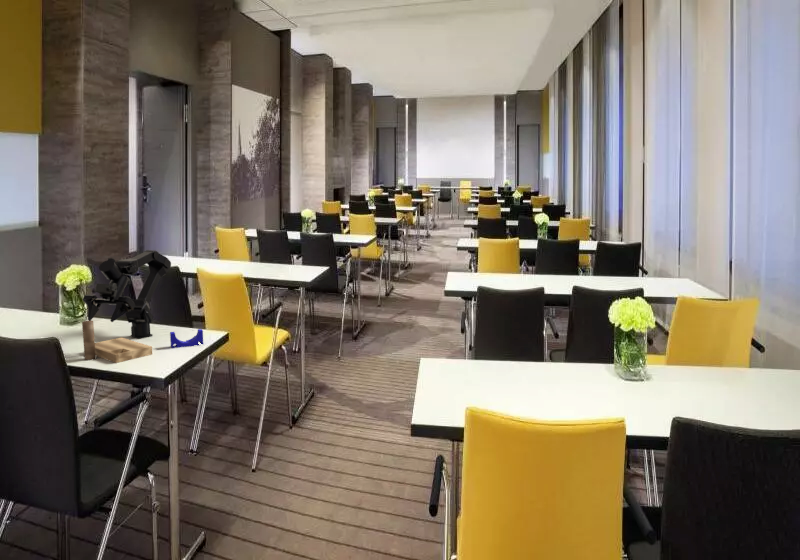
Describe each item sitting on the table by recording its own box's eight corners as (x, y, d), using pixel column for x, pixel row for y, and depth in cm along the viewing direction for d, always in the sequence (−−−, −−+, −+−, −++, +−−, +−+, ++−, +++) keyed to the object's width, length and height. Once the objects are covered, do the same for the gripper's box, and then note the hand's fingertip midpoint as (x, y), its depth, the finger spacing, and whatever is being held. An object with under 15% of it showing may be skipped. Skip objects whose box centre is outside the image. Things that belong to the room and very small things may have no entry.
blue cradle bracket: (201, 342, 237) (200, 328, 236) (203, 345, 233) (202, 330, 232) (170, 345, 231) (169, 331, 230) (171, 348, 227) (170, 333, 226)
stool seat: (121, 344, 231) (121, 337, 231) (152, 354, 219) (151, 346, 218) (86, 352, 220) (85, 344, 219) (116, 363, 208) (115, 354, 207)
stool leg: (92, 356, 215) (90, 320, 212) (97, 358, 213) (95, 321, 210) (82, 358, 212) (80, 321, 210) (87, 360, 210) (85, 323, 208)
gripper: (83, 274, 221) (65, 308, 212) (128, 275, 218) (112, 310, 209) (98, 290, 230) (81, 324, 221) (142, 292, 227) (126, 326, 218)
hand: (100, 320), depth 217 cm, fingers open, 9 cm apart
